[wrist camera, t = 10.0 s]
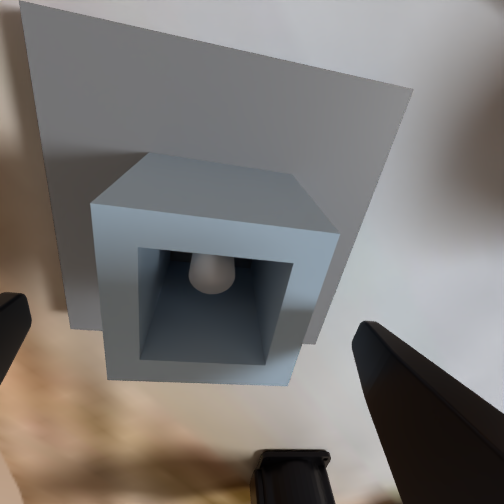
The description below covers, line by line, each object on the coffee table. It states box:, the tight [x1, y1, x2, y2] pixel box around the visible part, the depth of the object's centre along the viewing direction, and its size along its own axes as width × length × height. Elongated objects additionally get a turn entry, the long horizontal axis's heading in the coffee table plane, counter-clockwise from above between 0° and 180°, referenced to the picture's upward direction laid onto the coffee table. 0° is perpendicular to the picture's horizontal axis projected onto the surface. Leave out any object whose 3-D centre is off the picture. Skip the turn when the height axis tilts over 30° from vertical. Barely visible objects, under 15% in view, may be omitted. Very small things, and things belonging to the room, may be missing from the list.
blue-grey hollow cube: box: [90, 152, 340, 386], centre depth 11 cm, size 6×6×6 cm
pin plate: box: [19, 0, 413, 344], centre depth 13 cm, size 14×14×6 cm
